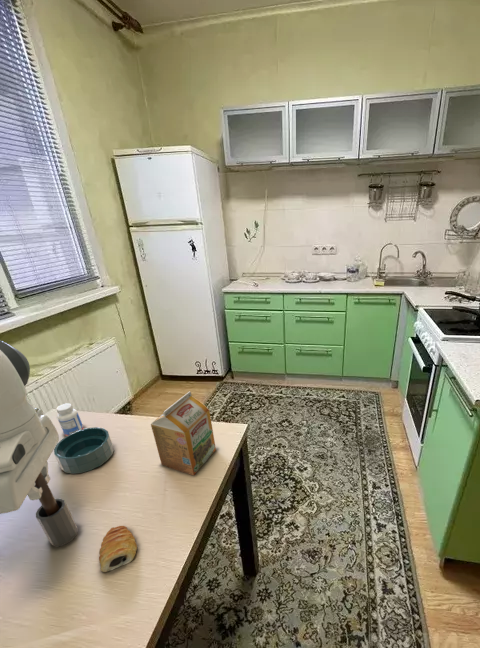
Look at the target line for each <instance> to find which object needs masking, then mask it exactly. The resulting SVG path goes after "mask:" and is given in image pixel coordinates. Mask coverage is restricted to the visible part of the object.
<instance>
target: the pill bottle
mask: <svg viewBox="0 0 480 648" xmlns="http://www.w3.org/2000/svg"><path fill="white" fill-rule="evenodd" d="M55 409H56V410H55V411H56V412H57V415H56V419H57V421H58V423H59V426H60V427H61V430H62V432H63V434H64V436H65V437H66V436H68V435H70V434H72V433H74V432H76V431H79V430H82V429H85V428H84V425H83V422H82V419H81V418H80V415H79V412H78V410H77V409H76V408H74V407H73V404H72V403H67V402H66V403H62V404H60V405H57V407H56V408H55Z"/></svg>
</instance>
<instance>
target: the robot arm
mask: <svg viewBox="0 0 480 648" xmlns="http://www.w3.org/2000/svg"><path fill="white" fill-rule="evenodd" d="M30 373H31V366H30V363H29V360H28V358H27V357H26V356H25V354H24V353H22V352H21V351H20V350H19V349H17V348H16V347H14V346H12V345H10V344H8V343H7V342H4V341H3V340H1V339H0V515H2V514H8V513H12V512H16V511H18V510H19V509H20V508H21V507H22V505H23V503H24V501H25V500H26V498H27V497H28V499H29V500H30V501H37V500H39V499H40V498H41V496H42V494H43V490H42V488H41V486H40V487H34V486H35V481H36V479H37V477H38V475H39V474H40V472H41V473H42V474H43V476H44V478H45V480H46V482H47V484H48V485H49V483H50V480H51V476H50V474H49V463H48V460H49V458H50V456H51V455H52V453H53V452H54V448H55V447H56V445H57V444H58V443H59V442H60V441H59V440H60V436H59V432H58V430H57V428H56V427H55V425H54V423H53V421H52V419H51V418H50V417H49V416H48V415H45V414H44V412H43V410H42V409H41V408H39V407H34V406H33V404H31V403H30V401H29V399H28V396H27V389H26V386H27V384H28V382H29V379H30V375H31V374H30Z"/></svg>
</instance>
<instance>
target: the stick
mask: <svg viewBox="0 0 480 648" xmlns="http://www.w3.org/2000/svg"><path fill="white" fill-rule="evenodd" d="M40 486H41V488H42V490H43V494H42V496H41V498H40V499H38V501H39V503H40V505H41V506H43V508H44V510H45V512H46V514H47V515H48V516H51V515H53V514H55V513H56V512H58V510H59V509H60V508H59V506H58V504H57V502H56V500H55V499H56V498H55V497H54V495H53V493H52V491H51V490H52V489H50V487H49V483H48V484H47V482H46V480H45V478H44V476H43V474H42V473H41V472H40V474H39V475H38V477H37V479H36V481H35V486H34V487H40Z"/></svg>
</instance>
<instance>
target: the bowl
mask: <svg viewBox="0 0 480 648" xmlns="http://www.w3.org/2000/svg"><path fill="white" fill-rule="evenodd" d="M109 433H110V432H109V431H108V430H107V429H105V427H98V426H95V427H86V428H84V429H82V430H79V431H76V432H74V433H72V434H70V435H68V436H65V437H63V438H62V439H61V440H60V441H58V443H57V444H56V446H55V448H54V449H53V454H54V457H55V459H56V461H57V463H58V466H59V468H60V469H61V470H62V471H63V472H64V473H66V474H71V475H74V474H83V473H87V472H89V471H93V470H94V469H96V468H98V467H101V466H102V465H103V464H104V463H106V462H107V461H108V460H109V459H110V458H111V457H112V455H113V454H114V450H115V448H114V444H113V441H112V440H111V439H112V438H111V436H110V434H109Z"/></svg>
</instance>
